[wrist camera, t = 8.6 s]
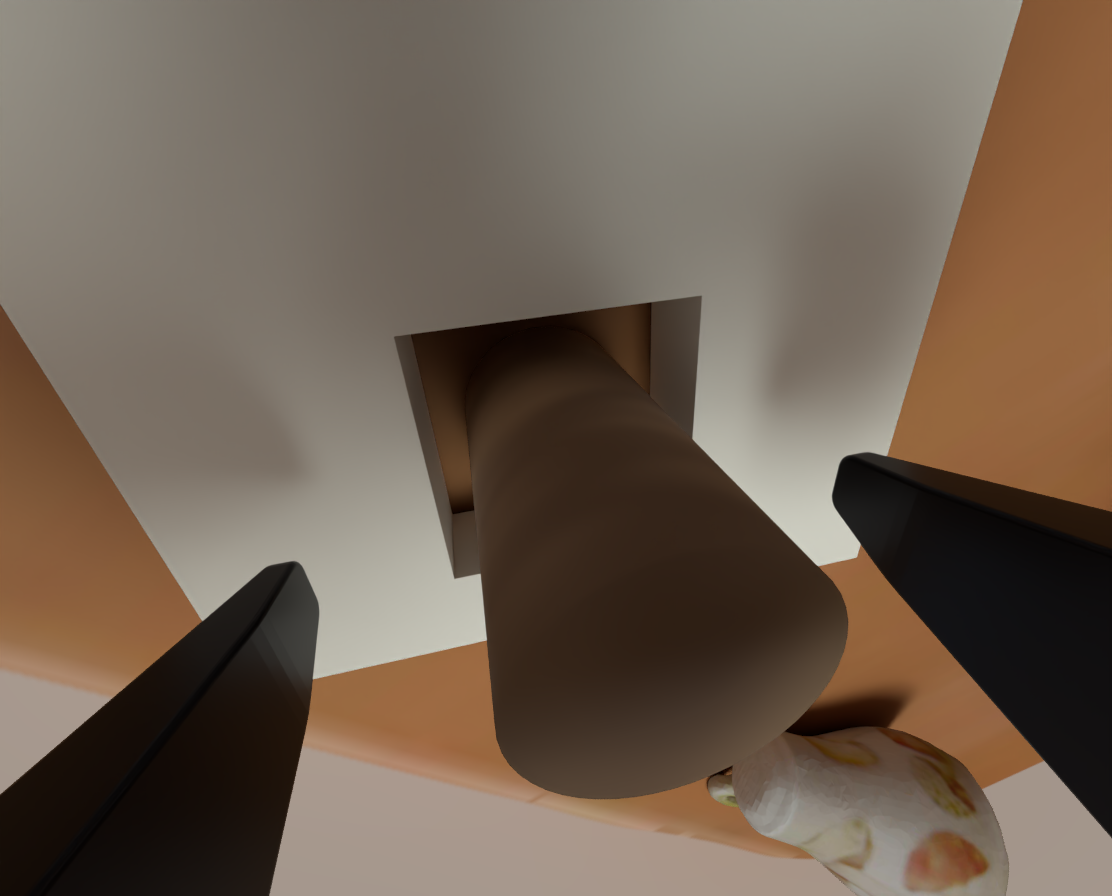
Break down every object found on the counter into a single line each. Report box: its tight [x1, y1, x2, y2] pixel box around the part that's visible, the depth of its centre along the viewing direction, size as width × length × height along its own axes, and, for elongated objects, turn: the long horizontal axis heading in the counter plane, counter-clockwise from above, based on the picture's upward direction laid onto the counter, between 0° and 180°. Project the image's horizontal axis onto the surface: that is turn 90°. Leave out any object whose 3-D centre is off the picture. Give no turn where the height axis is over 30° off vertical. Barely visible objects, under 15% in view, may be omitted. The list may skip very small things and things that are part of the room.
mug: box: [708, 726, 1009, 896], centre depth 21 cm, size 8×10×10 cm
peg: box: [465, 326, 848, 799], centre depth 9 cm, size 4×4×8 cm
